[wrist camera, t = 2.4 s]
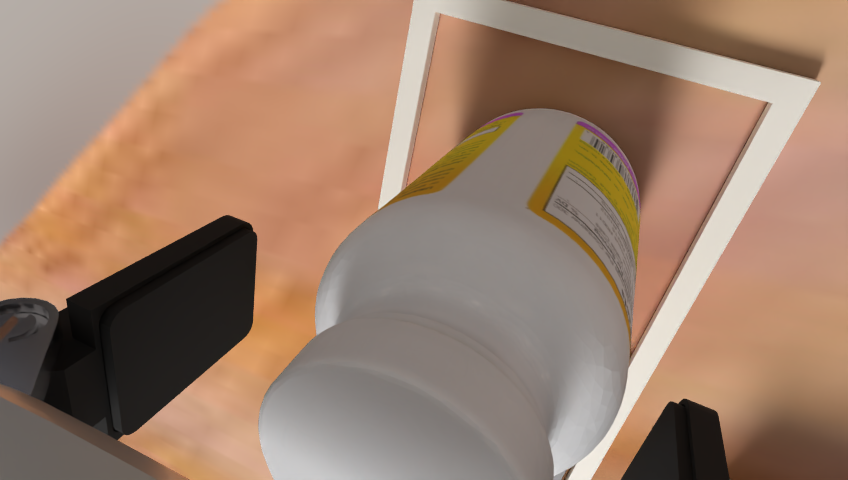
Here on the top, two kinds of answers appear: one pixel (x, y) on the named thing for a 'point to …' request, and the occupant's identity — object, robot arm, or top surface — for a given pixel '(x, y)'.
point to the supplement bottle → (471, 317)
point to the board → (779, 88)
